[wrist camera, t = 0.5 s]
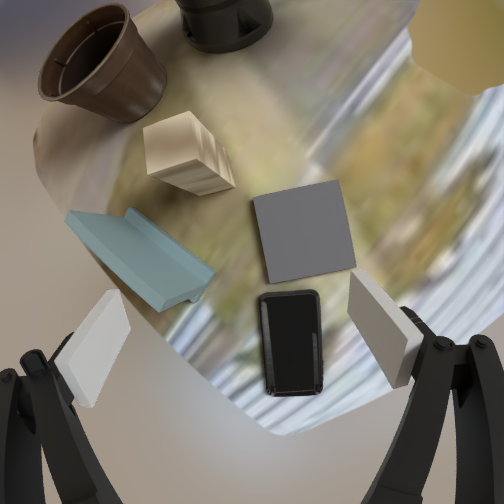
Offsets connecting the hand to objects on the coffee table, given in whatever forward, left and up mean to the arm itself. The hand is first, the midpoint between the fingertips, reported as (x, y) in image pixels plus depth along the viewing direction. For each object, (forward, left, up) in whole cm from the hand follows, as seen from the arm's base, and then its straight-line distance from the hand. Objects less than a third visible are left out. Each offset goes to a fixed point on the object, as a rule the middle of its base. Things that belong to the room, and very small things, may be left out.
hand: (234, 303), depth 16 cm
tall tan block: (-11, -10, -22) cm, 27 cm away
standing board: (0, -16, -22) cm, 27 cm away
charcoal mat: (-5, +3, -22) cm, 23 cm away
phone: (+10, +4, -22) cm, 25 cm away
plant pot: (-25, -27, -22) cm, 43 cm away
